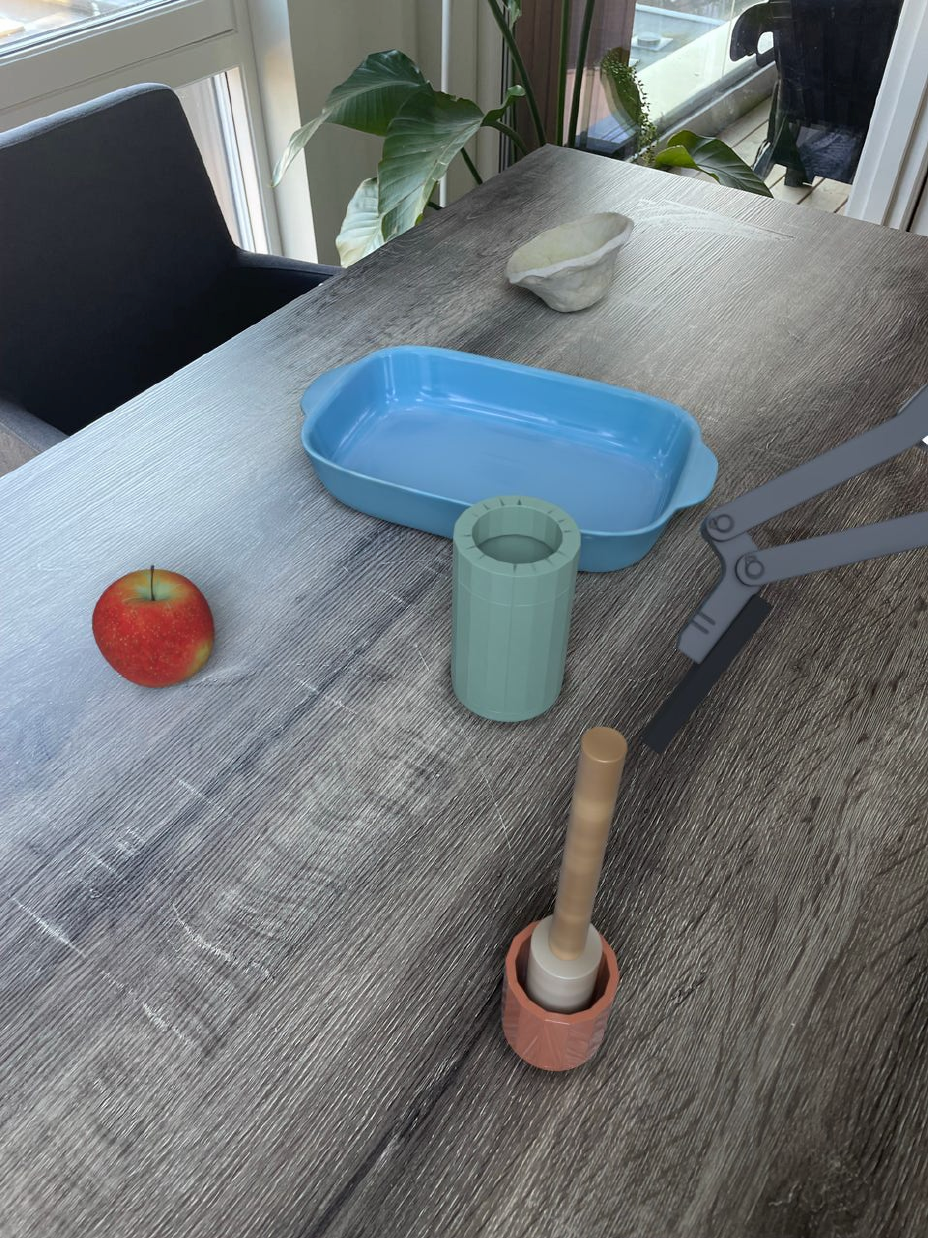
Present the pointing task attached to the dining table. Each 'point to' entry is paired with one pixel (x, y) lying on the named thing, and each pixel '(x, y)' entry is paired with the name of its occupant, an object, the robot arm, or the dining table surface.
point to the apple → (154, 627)
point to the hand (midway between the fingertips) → (804, 860)
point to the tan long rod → (578, 883)
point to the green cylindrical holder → (512, 605)
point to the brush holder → (553, 1034)
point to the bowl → (571, 260)
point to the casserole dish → (503, 446)
